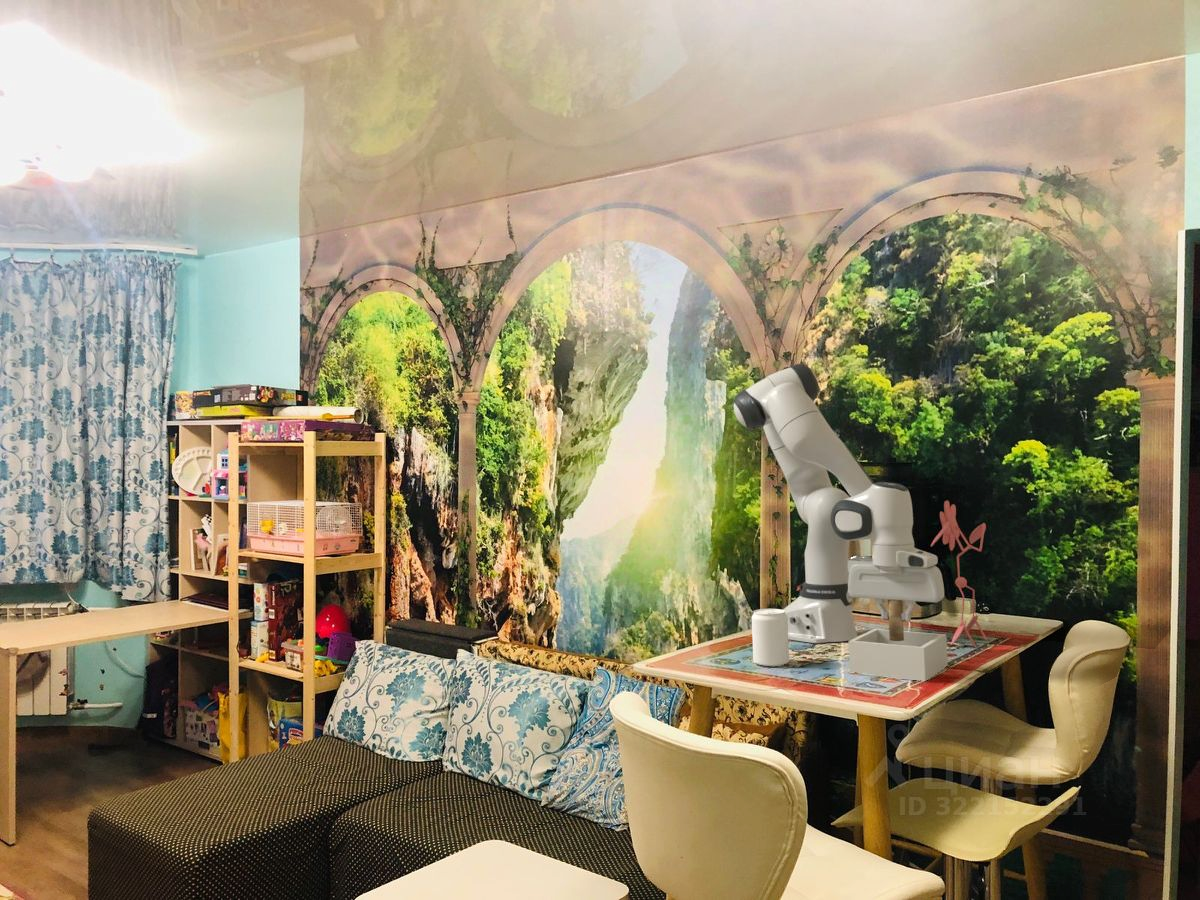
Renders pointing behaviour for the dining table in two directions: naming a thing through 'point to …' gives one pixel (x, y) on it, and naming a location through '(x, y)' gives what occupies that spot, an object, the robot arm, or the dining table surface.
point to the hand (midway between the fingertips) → (896, 620)
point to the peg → (895, 620)
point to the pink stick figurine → (949, 535)
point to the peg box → (898, 654)
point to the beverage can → (770, 637)
